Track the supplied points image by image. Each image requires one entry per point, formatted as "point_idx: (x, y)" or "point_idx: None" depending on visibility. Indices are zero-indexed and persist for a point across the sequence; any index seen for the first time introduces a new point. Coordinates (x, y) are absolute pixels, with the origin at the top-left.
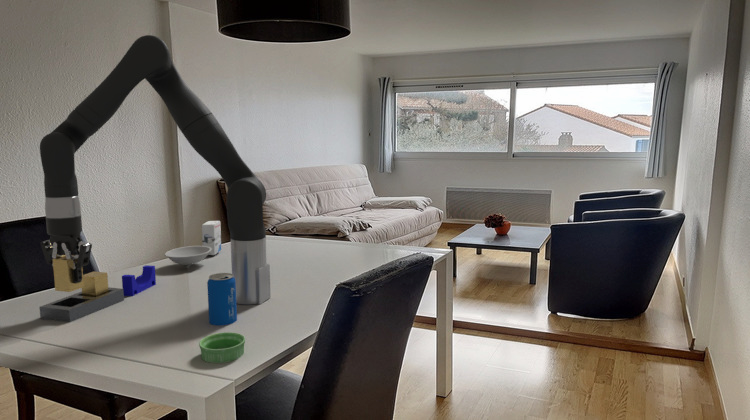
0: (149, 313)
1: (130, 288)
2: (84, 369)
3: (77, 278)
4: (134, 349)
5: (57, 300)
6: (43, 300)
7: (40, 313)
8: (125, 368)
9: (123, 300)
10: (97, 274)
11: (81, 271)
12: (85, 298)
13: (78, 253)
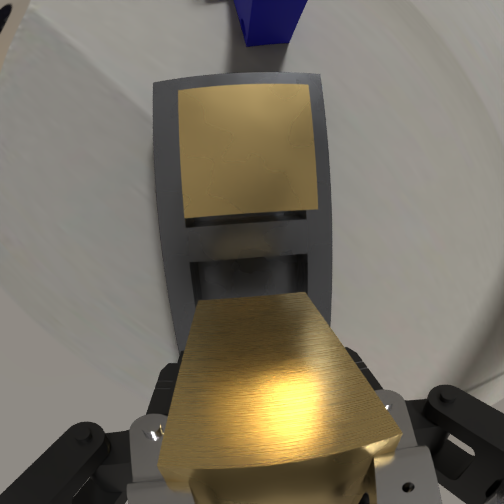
0: (456, 189)
1: (287, 27)
2: None
3: None
4: (492, 357)
5: (174, 315)
6: (23, 207)
7: None
8: (491, 393)
9: None
10: (281, 144)
11: (375, 382)
12: (272, 251)
13: (413, 490)
